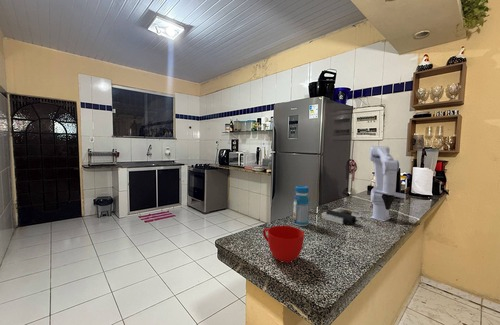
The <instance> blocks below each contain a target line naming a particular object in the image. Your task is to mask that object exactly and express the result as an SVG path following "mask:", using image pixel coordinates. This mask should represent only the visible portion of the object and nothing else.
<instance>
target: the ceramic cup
mask: <svg viewBox="0 0 500 325" xmlns="http://www.w3.org/2000/svg"><path fill="white" fill-rule="evenodd" d="M266 231H267V233H266ZM262 236H263V237H264V240H266V242H267V244H268V247H269V250H270V253H271V255H273V257H274V258H275V259H276V260H277V259H278V260H280V261H283V262H291V261H293V260H294V261H295V260H296V259H297V258H299V256H300V254H301V252H302V250H303V245H304V238H305V234H304V231H303V230H302V229H300V228H298V227H295V226H291V225H289V226H288V225H274V226H272V227H270V228H268V227H267V228H266V227H265V228H263V231H262ZM278 260H277V261H278ZM294 261H293V262H294ZM291 263H292V262H291Z"/></svg>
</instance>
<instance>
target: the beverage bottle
mask: <svg viewBox="0 0 500 325" xmlns="http://www.w3.org/2000/svg"><path fill="white" fill-rule="evenodd" d="M309 188H310V187H309V186H305V185H297V186H295V193H296V194H295V195H294V197H293V205H292V206H293V216H292V217H293V218H292V223H293V224H294V225H295V226H298V227H299V226H300V227H306V226H308V225H309V223H310V220H309V219H310V217H309V216H310V204H311V203H310V196H309V195H308V194H309Z"/></svg>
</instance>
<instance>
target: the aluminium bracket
mask: <svg viewBox="0 0 500 325" xmlns="http://www.w3.org/2000/svg"><path fill="white" fill-rule="evenodd" d="M331 210H332V211H336V212H342V211H344V210H348V211H352V214H351V215H352V216H355V217H356V218H361V216H362V214H361V211H358V210H353V209H349V208H345V207H337V208H334V209H331ZM326 212H327V211H324V212H321V219H324V220H326V221H329V222H334V223H335V224H340V225H344V224H345V223H344V218H341V217H338V216H334V215H330V214H327V213H326Z"/></svg>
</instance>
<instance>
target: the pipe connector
mask: <svg viewBox="0 0 500 325" xmlns="http://www.w3.org/2000/svg"><path fill="white" fill-rule="evenodd" d="M332 210H333V209H327V210H326V211H325V212H326V213H327V214H330V215H334V216H338V217H341V218H344V224H346V225H348V226H354V225H355V224H356V221H357V217H355V216H352V215H351V214H352V211H348V210H344V211H342V212H336V211H332Z"/></svg>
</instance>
